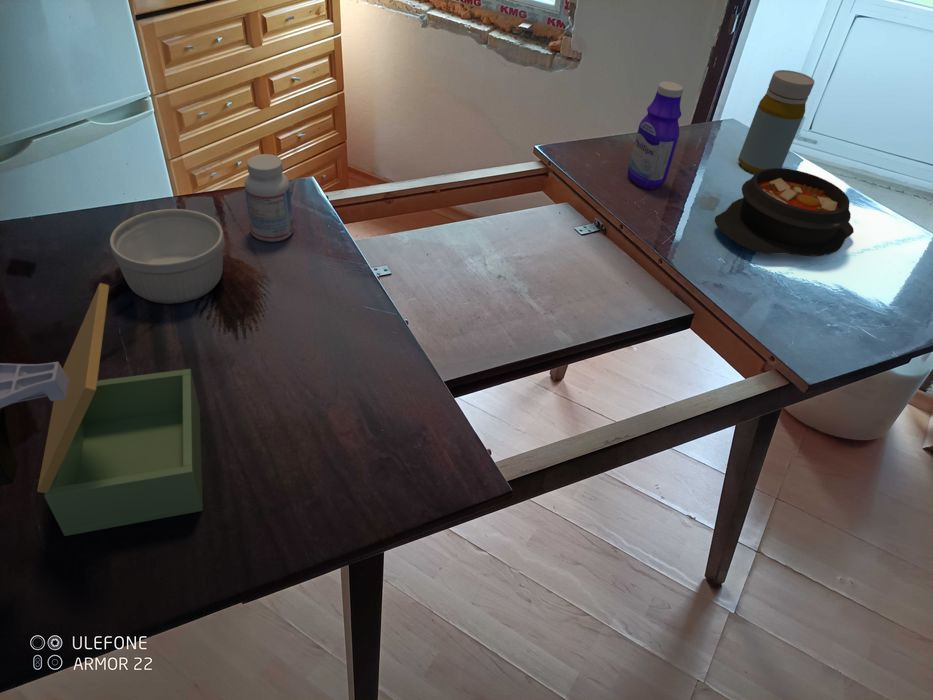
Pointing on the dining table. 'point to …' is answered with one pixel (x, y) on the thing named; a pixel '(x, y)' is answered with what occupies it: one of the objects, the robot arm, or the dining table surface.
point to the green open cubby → (132, 455)
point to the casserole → (788, 214)
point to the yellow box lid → (75, 388)
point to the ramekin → (169, 254)
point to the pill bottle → (268, 199)
